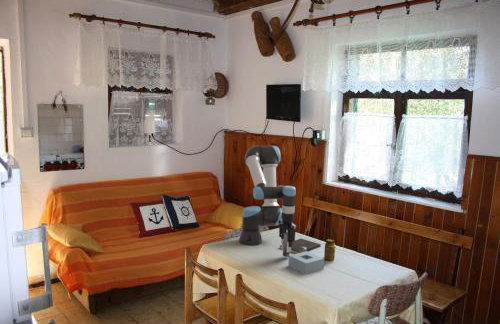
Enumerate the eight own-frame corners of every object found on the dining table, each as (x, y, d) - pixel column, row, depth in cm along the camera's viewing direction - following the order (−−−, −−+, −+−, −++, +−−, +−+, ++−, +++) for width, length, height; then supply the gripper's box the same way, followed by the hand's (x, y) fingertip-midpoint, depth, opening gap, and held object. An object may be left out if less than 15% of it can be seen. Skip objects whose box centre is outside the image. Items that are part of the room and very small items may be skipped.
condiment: (337, 260, 244) (338, 240, 242) (327, 263, 239) (328, 243, 238) (328, 256, 250) (329, 237, 248) (318, 259, 245) (319, 239, 244)
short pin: (298, 256, 248) (298, 247, 247) (303, 255, 250) (303, 246, 249) (302, 258, 245) (303, 249, 244) (307, 257, 247) (308, 247, 246)
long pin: (281, 255, 245) (282, 232, 243) (286, 253, 248) (287, 231, 246) (285, 257, 242) (286, 234, 240) (290, 255, 244) (291, 233, 243)
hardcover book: (279, 249, 262) (279, 245, 262) (300, 241, 279) (301, 238, 279) (299, 255, 251) (299, 252, 251) (320, 247, 268) (320, 244, 268)
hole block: (288, 265, 233) (288, 255, 232) (306, 261, 241) (306, 251, 240) (305, 274, 221) (306, 263, 221) (323, 268, 230) (324, 258, 229)
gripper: (273, 209, 246) (272, 247, 249) (293, 216, 232) (291, 256, 235) (283, 208, 250) (281, 245, 253) (302, 214, 237) (300, 253, 240)
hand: (286, 250), depth 244 cm, fingers closed on long pin, 4 cm apart
